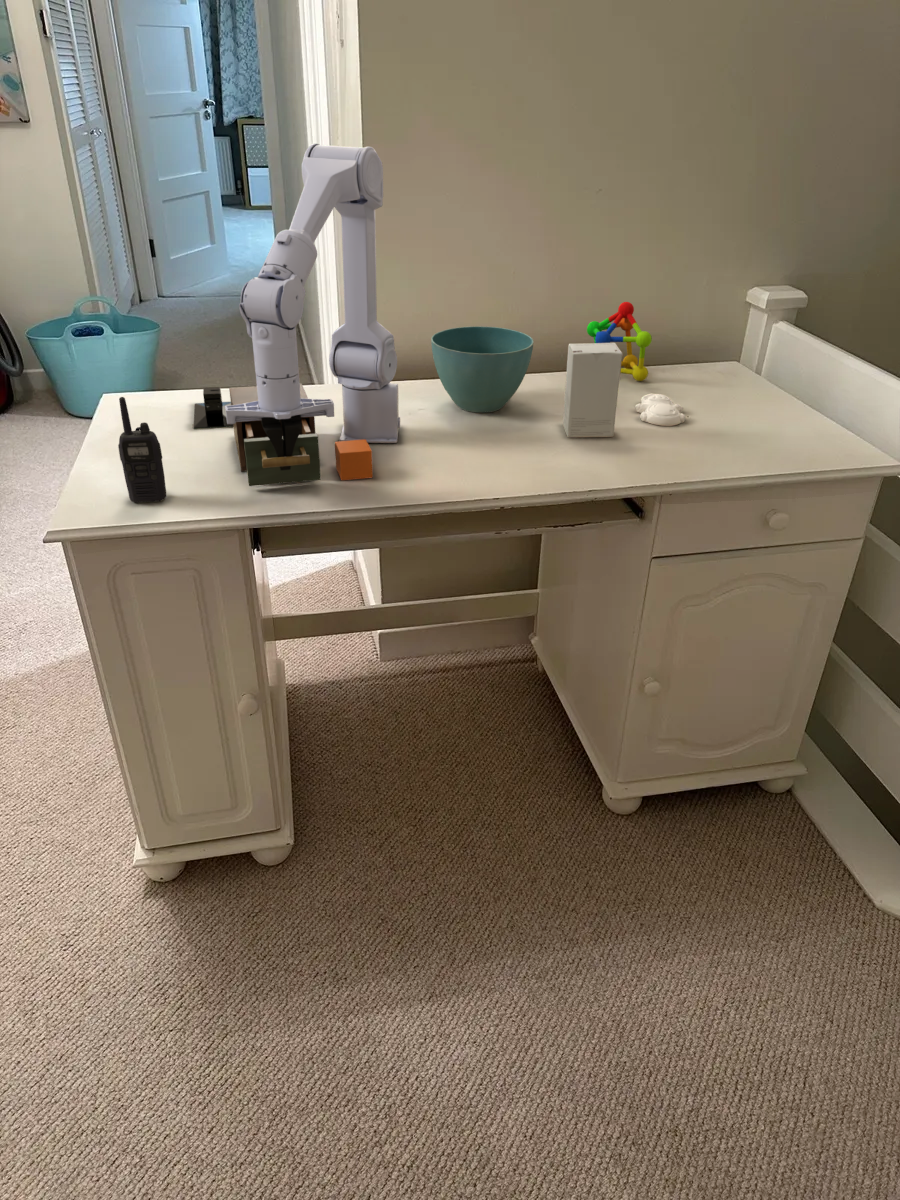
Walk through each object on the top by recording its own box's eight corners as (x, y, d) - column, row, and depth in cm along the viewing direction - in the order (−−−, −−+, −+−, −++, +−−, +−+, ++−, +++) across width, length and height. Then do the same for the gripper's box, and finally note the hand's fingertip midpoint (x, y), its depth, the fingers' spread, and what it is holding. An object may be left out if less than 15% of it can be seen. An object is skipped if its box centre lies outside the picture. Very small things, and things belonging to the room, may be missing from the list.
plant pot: (473, 429, 149) (476, 359, 142) (410, 401, 161) (410, 334, 154) (548, 409, 159) (554, 342, 152) (484, 384, 170) (487, 321, 164)
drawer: (325, 493, 123) (323, 448, 120) (251, 500, 121) (247, 454, 117) (308, 447, 138) (305, 406, 134) (242, 452, 135) (237, 411, 131)
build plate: (236, 427, 147) (233, 401, 145) (192, 430, 146) (188, 403, 143) (234, 403, 157) (231, 378, 155) (193, 405, 156) (189, 380, 153)
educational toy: (573, 372, 182) (578, 298, 175) (628, 369, 185) (635, 296, 178) (604, 388, 168) (610, 308, 162) (663, 384, 172) (672, 306, 165)
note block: (372, 477, 130) (371, 450, 128) (341, 480, 129) (339, 453, 127) (366, 465, 134) (365, 439, 132) (335, 468, 133) (334, 441, 131)
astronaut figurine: (680, 405, 162) (683, 390, 161) (686, 427, 152) (688, 411, 151) (633, 402, 163) (635, 386, 162) (635, 424, 153) (638, 407, 152)
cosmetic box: (607, 426, 152) (617, 341, 144) (613, 439, 147) (625, 351, 139) (559, 426, 151) (568, 340, 144) (564, 438, 146) (573, 351, 138)
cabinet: (317, 465, 134) (314, 411, 129) (241, 471, 131) (235, 417, 127) (305, 433, 145) (301, 383, 141) (234, 438, 143) (229, 387, 138)
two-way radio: (126, 505, 120) (106, 400, 112) (131, 492, 124) (112, 390, 116) (167, 503, 121) (150, 399, 113) (170, 490, 125) (154, 388, 117)
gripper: (223, 385, 110) (234, 483, 117) (336, 378, 114) (340, 473, 121) (220, 369, 116) (231, 463, 123) (327, 363, 119) (332, 455, 127)
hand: (284, 467), depth 122 cm, fingers closed, pressing on drawer
